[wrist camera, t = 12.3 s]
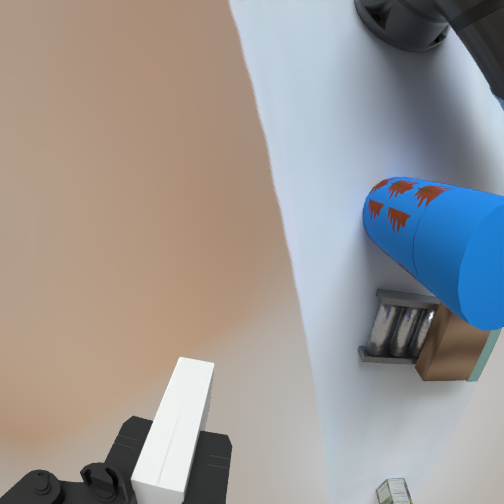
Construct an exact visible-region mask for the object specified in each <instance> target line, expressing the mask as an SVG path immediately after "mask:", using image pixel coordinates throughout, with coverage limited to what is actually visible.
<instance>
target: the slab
mask: <svg viewBox="0 0 504 504" xmlns="http://www.w3.org/2000/svg"><path fill="white" fill-rule="evenodd" d="M490 332H491V330H488V331H482V330H480V329H478V328H476V327H474V326H472V325H470V324H469V323H467V322H465V321H464V320H462V319H461V318H459V317H458V316H457V315H456V314H455V313H453V312H452V311H451V310H450V309H449V308H448V307H447V306H446V305H445V304H444V303H443V302H441V301H440V304H439V307H438V310H437V313H436V315H435V318H434V321H433V324H432V326H431V329H430V331H429V334H428V336H427V339H426V341H425V344H424V346H423V349H422V351H421V353H420V356H419V358H418V360H417V363H416V365H415V369H416V370H417V372H418V373H419V375H420V376H421V378H422V380H423V381H455V380H468V379H469V377H470V375H471V373H472V371H473V369H474V367H475V365H476V363H477V361H478V359H479V357H480V355H481V353H482V351H483V348H484V346H485V344H486V342H487V339H488V337H489V335H490Z"/></svg>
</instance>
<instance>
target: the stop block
mask: <svg viewBox="0 0 504 504" xmlns="http://www.w3.org/2000/svg"><path fill="white" fill-rule="evenodd" d="M501 329H502V328H500V329H498V330H491V332H490V335H489V337H488V339H487V342H486V344H485V346H484V348H483V351H482V353H481V355H480V357H479V359H478V361H477V363H476V365H475V367H474V369H473V371H472V373H471V375H470V377H469V379H468V380H466V381H467V382H470V381H477V380H478V378H479V377H480V375H481V373H482V371H483V369H484V367H485V365H486V363H487V361H488V358H489V356H490V354H491V352H492V350H493V348H494V345H495V343H496V341H497V338H498V336H499V334H500V332H501Z"/></svg>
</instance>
